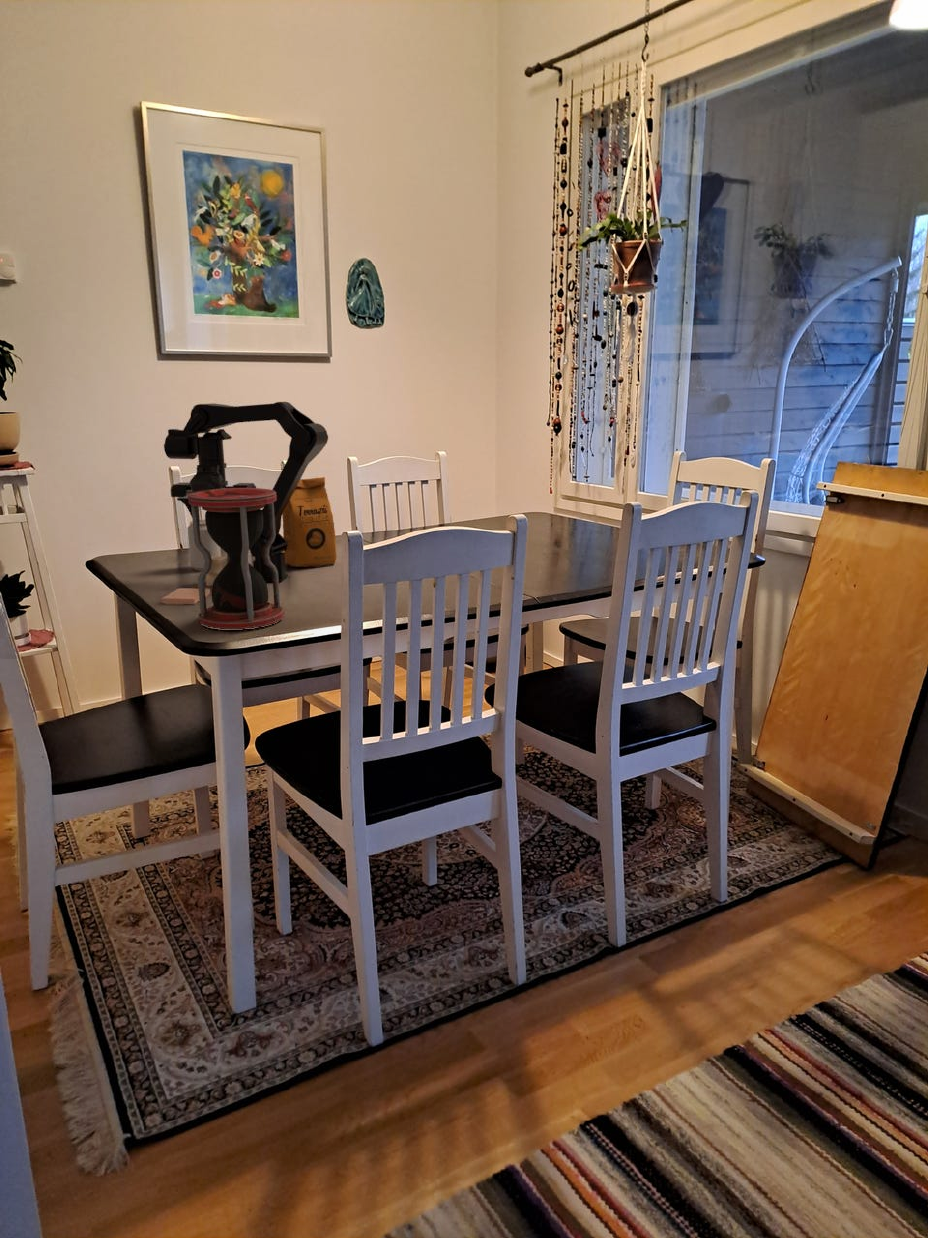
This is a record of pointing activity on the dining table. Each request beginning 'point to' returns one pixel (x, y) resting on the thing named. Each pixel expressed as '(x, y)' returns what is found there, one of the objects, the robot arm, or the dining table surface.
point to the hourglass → (236, 557)
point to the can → (207, 542)
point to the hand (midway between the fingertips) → (216, 526)
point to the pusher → (215, 569)
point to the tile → (184, 596)
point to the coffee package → (309, 526)
